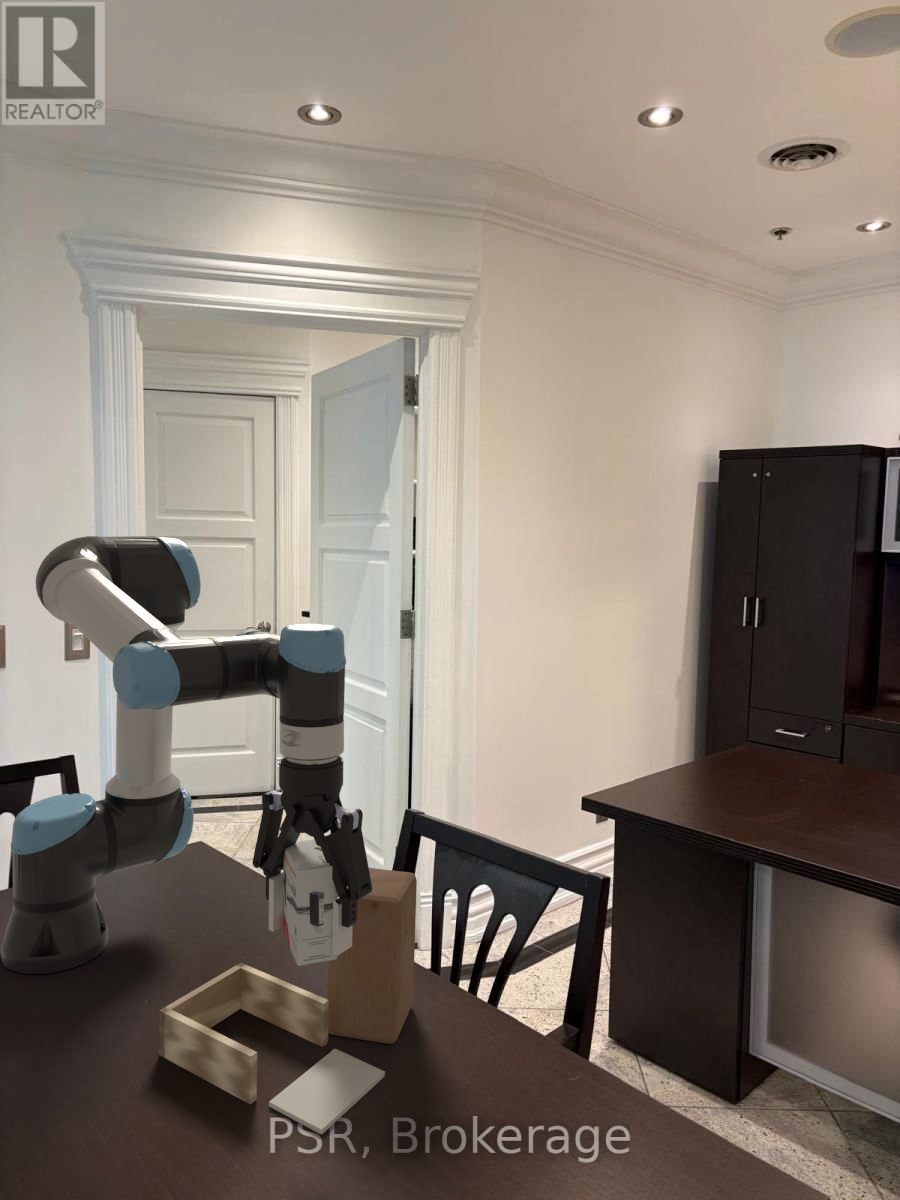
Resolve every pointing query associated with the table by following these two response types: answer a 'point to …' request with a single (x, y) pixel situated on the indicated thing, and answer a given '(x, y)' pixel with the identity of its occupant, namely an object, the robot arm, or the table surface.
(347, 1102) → the mat
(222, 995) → the crate
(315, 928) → the ink box
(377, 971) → the wooden block
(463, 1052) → the table surface
